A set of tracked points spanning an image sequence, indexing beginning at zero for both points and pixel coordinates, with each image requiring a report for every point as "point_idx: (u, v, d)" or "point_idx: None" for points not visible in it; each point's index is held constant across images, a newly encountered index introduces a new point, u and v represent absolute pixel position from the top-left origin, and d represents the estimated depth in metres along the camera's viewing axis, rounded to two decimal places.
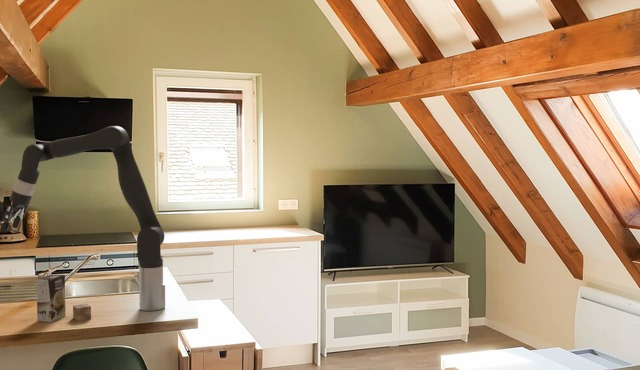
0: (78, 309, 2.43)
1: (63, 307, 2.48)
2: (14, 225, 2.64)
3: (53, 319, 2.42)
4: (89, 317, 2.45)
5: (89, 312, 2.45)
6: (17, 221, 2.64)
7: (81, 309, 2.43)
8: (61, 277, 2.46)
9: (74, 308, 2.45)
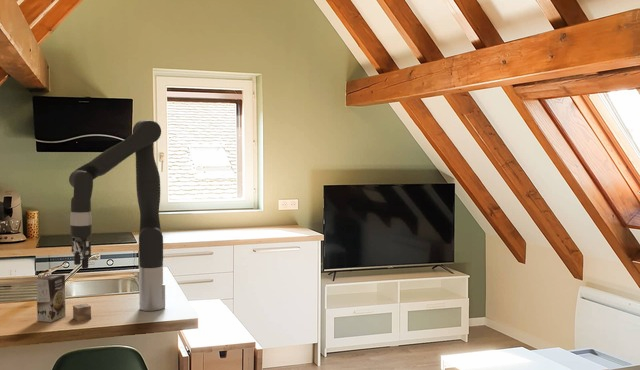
0: (78, 309, 2.43)
1: (63, 307, 2.48)
2: (77, 262, 2.48)
3: (53, 319, 2.42)
4: (89, 317, 2.45)
5: (89, 312, 2.45)
6: (78, 257, 2.48)
7: (81, 309, 2.43)
8: (61, 277, 2.46)
9: (74, 308, 2.45)
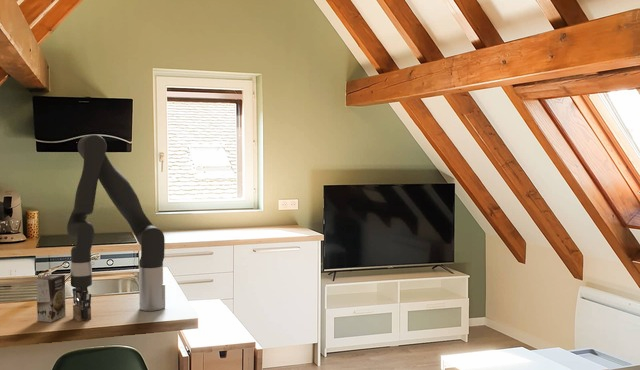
0: (78, 309, 2.42)
1: (63, 307, 2.48)
2: None
3: (53, 319, 2.42)
4: (89, 317, 2.45)
5: (89, 312, 2.45)
6: None
7: None
8: (61, 277, 2.46)
9: (74, 308, 2.45)
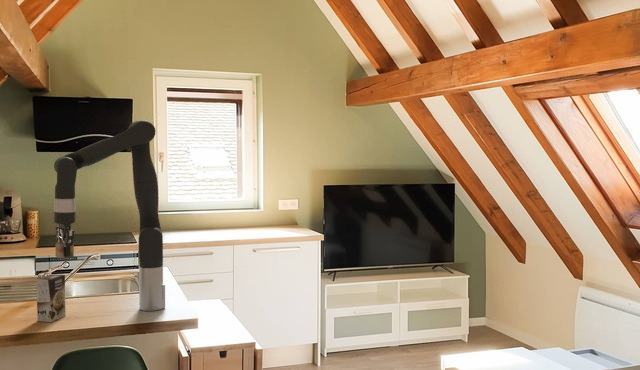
0: (60, 246, 2.40)
1: (63, 307, 2.48)
2: None
3: (53, 319, 2.42)
4: (71, 255, 2.43)
5: (72, 250, 2.43)
6: None
7: None
8: (61, 277, 2.46)
9: (57, 245, 2.43)
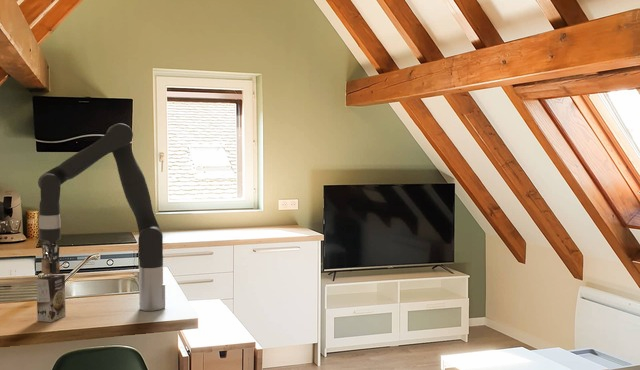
0: (46, 262, 2.41)
1: (63, 307, 2.48)
2: None
3: (53, 319, 2.42)
4: (57, 271, 2.44)
5: (57, 266, 2.44)
6: None
7: (49, 262, 2.42)
8: (61, 277, 2.46)
9: (42, 261, 2.43)
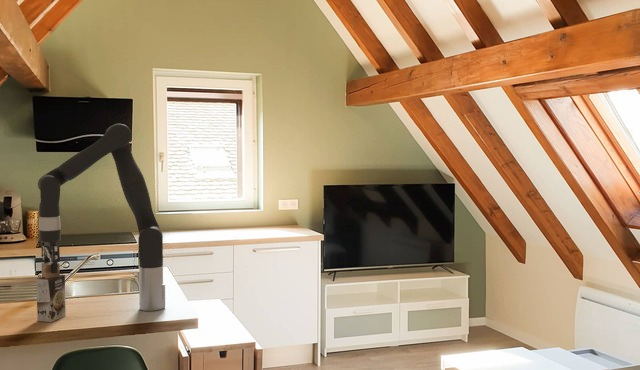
0: (46, 266, 2.41)
1: (63, 307, 2.48)
2: None
3: (53, 319, 2.42)
4: (58, 274, 2.44)
5: (58, 269, 2.44)
6: None
7: (49, 266, 2.42)
8: (61, 277, 2.46)
9: (42, 265, 2.43)
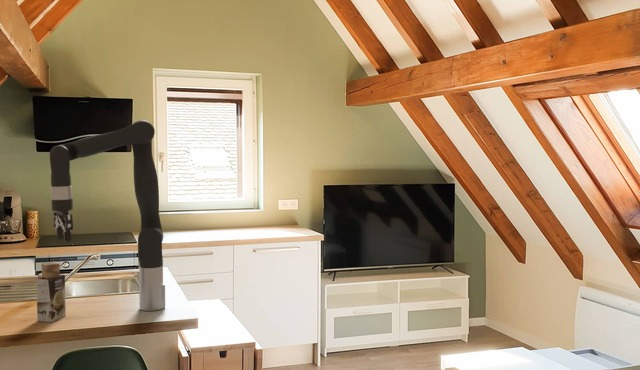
0: (46, 266, 2.41)
1: (63, 307, 2.48)
2: (59, 237, 2.51)
3: (53, 319, 2.42)
4: (58, 275, 2.44)
5: (58, 269, 2.44)
6: (61, 231, 2.51)
7: (49, 266, 2.42)
8: (61, 277, 2.46)
9: (42, 265, 2.43)
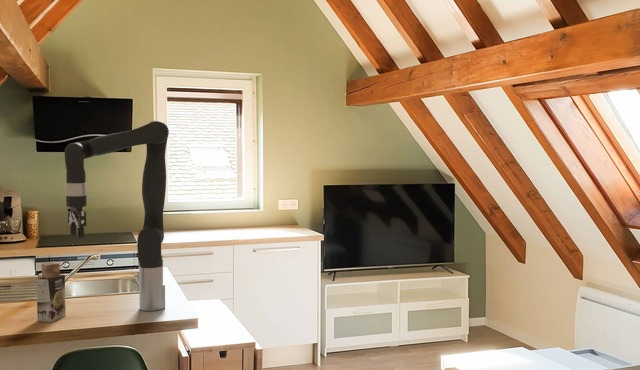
0: (46, 266, 2.41)
1: (63, 307, 2.48)
2: (73, 232, 2.56)
3: (53, 319, 2.42)
4: (58, 275, 2.44)
5: (58, 269, 2.44)
6: (74, 227, 2.56)
7: (49, 266, 2.42)
8: (61, 277, 2.46)
9: (43, 265, 2.43)
